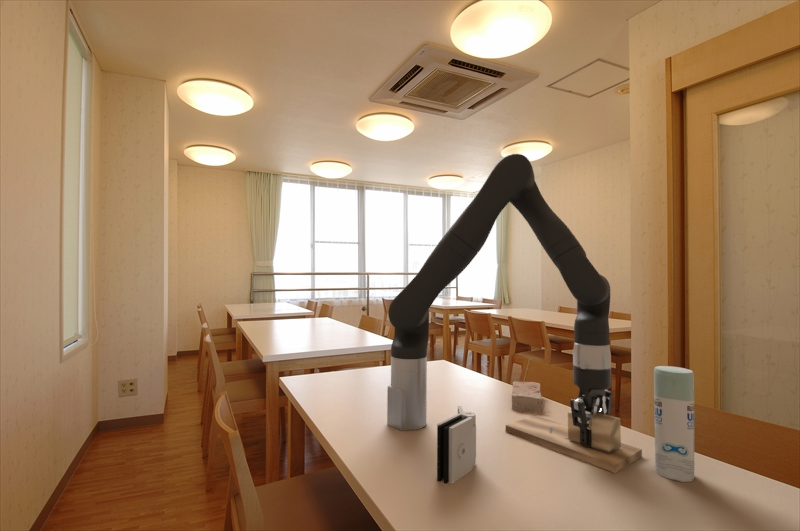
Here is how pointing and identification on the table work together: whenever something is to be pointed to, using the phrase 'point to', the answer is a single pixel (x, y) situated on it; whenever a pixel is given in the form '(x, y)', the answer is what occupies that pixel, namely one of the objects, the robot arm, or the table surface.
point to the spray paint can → (674, 422)
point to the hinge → (456, 446)
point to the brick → (526, 396)
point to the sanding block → (599, 432)
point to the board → (571, 443)
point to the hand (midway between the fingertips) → (592, 442)
